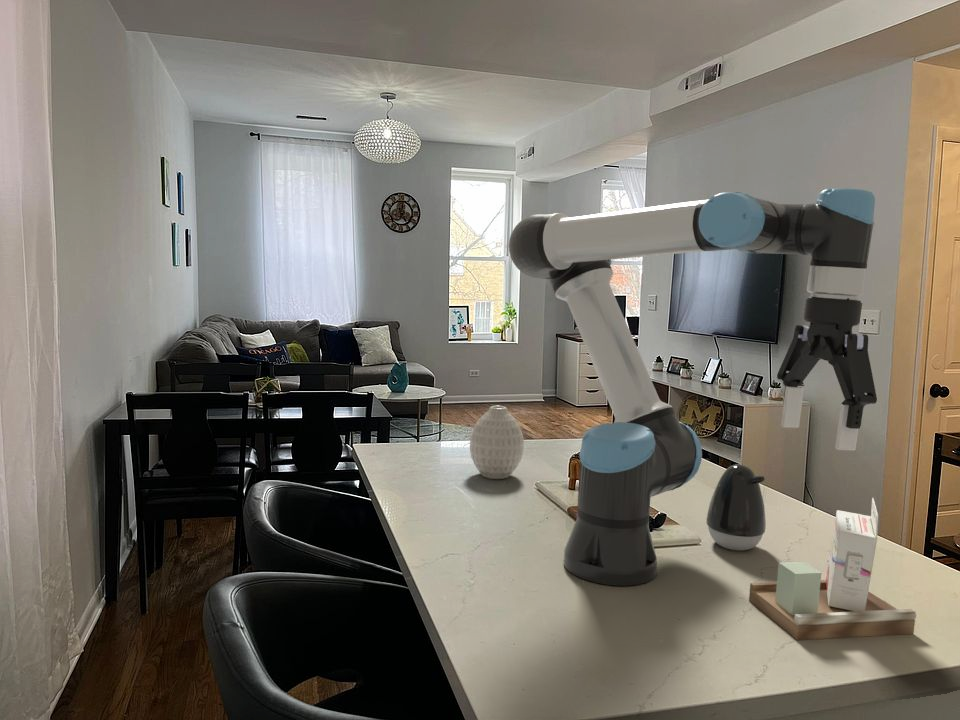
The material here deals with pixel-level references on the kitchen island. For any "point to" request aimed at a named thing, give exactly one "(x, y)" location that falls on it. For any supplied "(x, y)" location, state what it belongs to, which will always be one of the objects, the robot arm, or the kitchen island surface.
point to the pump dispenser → (737, 509)
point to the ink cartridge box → (851, 559)
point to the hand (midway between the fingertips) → (815, 438)
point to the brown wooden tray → (834, 616)
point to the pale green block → (798, 588)
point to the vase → (496, 443)
